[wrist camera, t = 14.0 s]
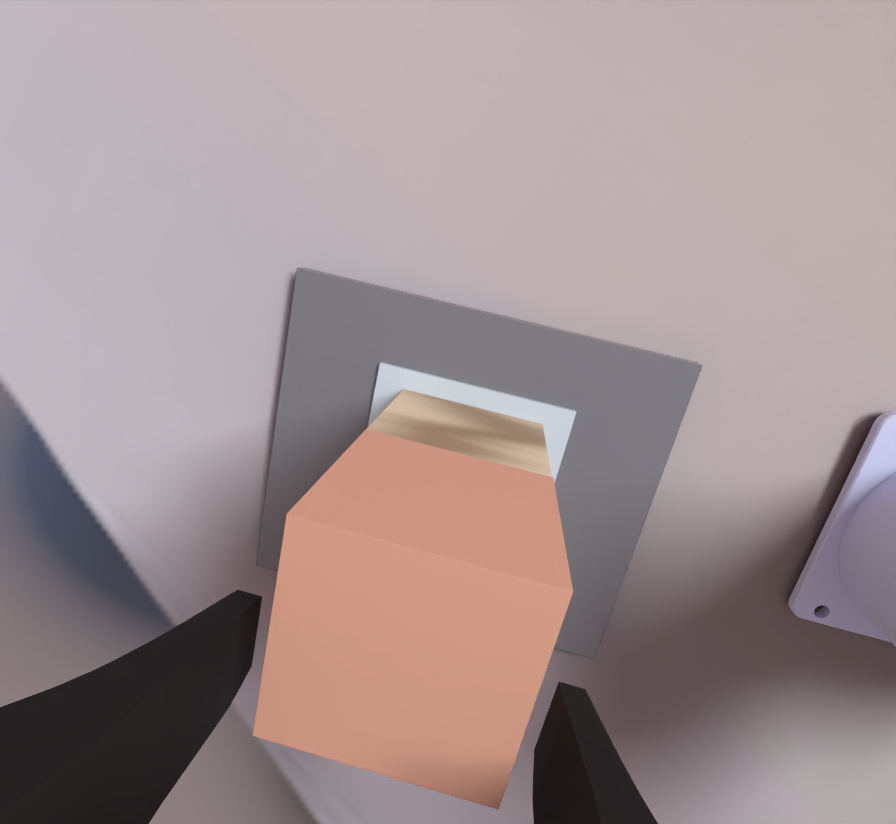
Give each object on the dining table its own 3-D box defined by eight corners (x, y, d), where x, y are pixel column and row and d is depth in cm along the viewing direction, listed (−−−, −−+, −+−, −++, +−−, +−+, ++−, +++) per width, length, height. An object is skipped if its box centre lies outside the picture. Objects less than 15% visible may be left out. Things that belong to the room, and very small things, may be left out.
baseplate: (696, 362, 18) (704, 366, 17) (591, 648, 21) (594, 662, 21) (303, 267, 19) (294, 268, 18) (262, 557, 22) (253, 567, 21)
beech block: (542, 424, 18) (552, 479, 14) (506, 548, 20) (503, 637, 15) (404, 389, 19) (364, 430, 14) (378, 513, 20) (334, 590, 15)
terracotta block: (553, 477, 14) (573, 591, 9) (504, 636, 15) (498, 809, 10) (366, 429, 14) (286, 513, 9) (335, 589, 15) (252, 735, 10)
